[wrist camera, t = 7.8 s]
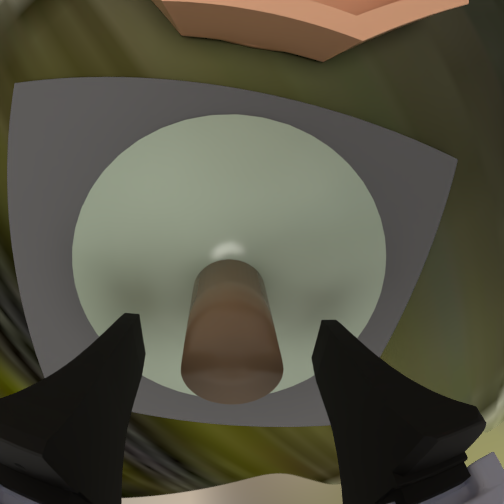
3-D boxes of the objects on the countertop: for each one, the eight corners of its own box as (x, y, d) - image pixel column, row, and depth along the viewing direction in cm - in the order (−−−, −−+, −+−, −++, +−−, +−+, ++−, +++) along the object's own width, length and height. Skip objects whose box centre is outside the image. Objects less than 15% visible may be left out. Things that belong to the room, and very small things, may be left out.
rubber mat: (450, 157, 13) (458, 159, 12) (335, 418, 21) (337, 424, 20) (21, 83, 10) (14, 83, 9) (51, 384, 17) (49, 389, 17)
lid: (404, 138, 12) (492, 157, 7) (343, 385, 18) (370, 454, 13) (64, 122, 10) (-21, 133, 5) (108, 382, 16) (86, 454, 11)
